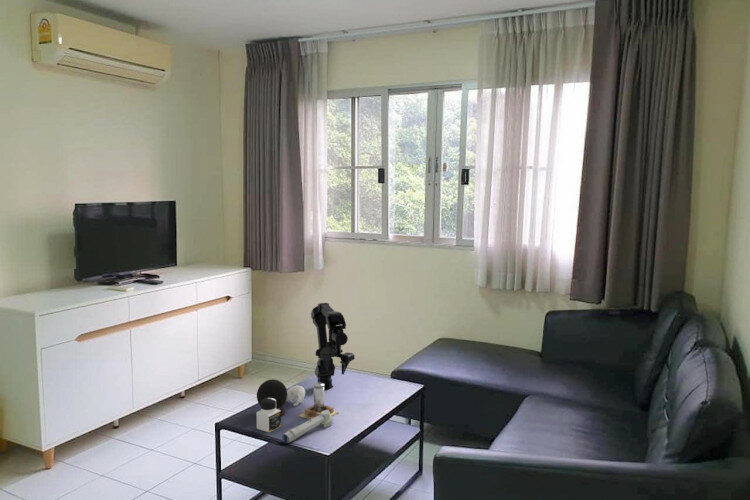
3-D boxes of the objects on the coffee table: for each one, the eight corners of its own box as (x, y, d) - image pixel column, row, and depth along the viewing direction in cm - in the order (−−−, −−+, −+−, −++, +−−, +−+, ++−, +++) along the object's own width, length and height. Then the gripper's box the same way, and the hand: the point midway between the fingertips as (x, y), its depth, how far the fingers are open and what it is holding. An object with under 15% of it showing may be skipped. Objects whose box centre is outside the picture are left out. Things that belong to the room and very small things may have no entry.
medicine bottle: (269, 433, 217) (268, 404, 216) (256, 428, 221) (255, 400, 220) (281, 426, 223) (281, 398, 222) (268, 422, 227) (268, 395, 226)
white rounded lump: (298, 388, 243) (276, 386, 248) (300, 407, 243) (278, 405, 248) (306, 384, 248) (284, 382, 253) (307, 402, 249) (286, 400, 254)
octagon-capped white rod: (279, 432, 209) (325, 405, 228) (281, 447, 211) (327, 419, 229) (288, 436, 206) (334, 408, 224) (290, 452, 207) (336, 423, 226)
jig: (299, 416, 233) (299, 410, 233) (316, 407, 243) (316, 401, 243) (321, 423, 227) (321, 416, 227) (338, 413, 237) (338, 407, 237)
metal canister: (311, 412, 235) (311, 383, 234) (320, 410, 238) (320, 381, 237) (317, 416, 232) (317, 386, 231) (326, 413, 235) (326, 384, 234)
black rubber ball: (293, 412, 238) (293, 379, 236) (271, 422, 227) (270, 387, 226) (273, 405, 246) (272, 373, 244) (250, 414, 235) (250, 381, 234)
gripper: (307, 340, 248) (308, 373, 250) (340, 346, 238) (340, 381, 240) (323, 335, 258) (323, 367, 259) (355, 341, 247) (355, 374, 249)
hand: (334, 372), depth 251 cm, fingers open, 9 cm apart
